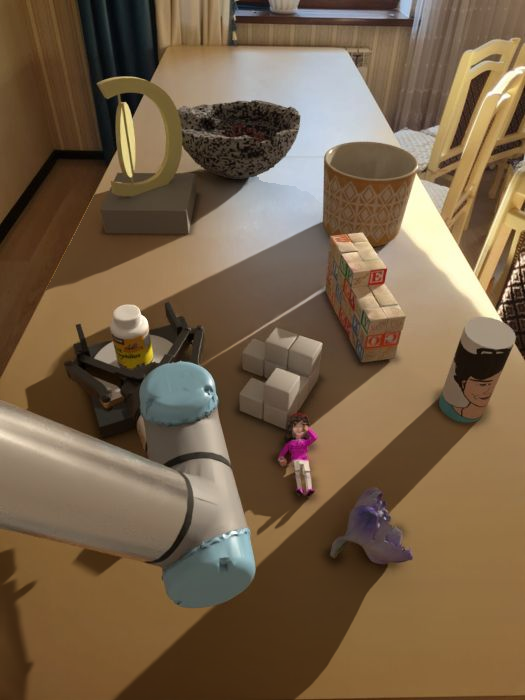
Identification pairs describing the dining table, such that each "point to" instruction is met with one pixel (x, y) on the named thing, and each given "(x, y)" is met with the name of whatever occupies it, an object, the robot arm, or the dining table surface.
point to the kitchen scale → (121, 413)
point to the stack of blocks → (363, 297)
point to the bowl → (238, 136)
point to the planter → (367, 189)
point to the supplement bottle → (131, 337)
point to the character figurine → (299, 449)
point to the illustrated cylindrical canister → (476, 368)
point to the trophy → (147, 188)
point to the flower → (373, 531)
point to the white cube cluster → (279, 375)
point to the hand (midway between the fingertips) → (124, 319)
